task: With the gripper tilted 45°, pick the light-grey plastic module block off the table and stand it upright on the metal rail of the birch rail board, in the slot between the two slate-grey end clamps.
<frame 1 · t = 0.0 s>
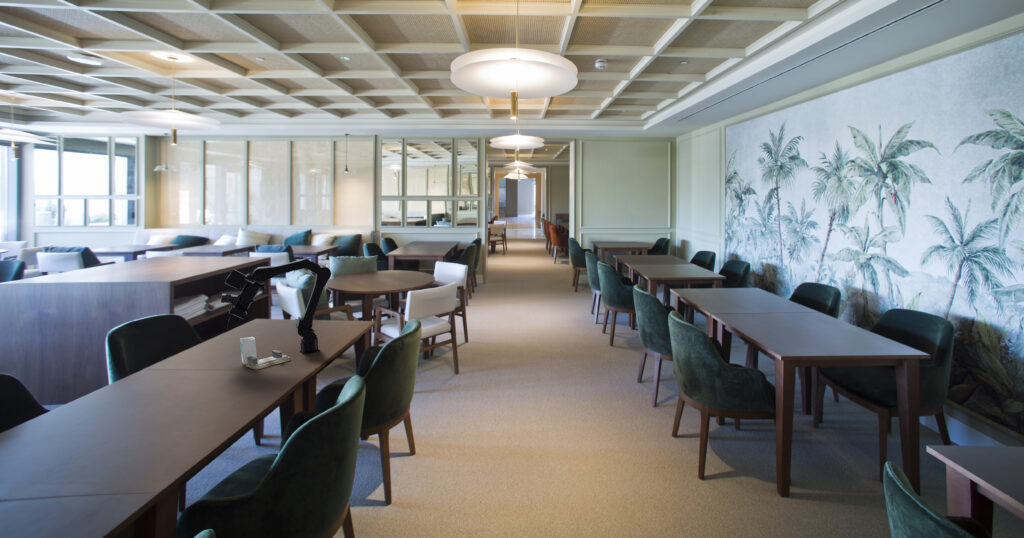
hand: (227, 327, 215), 15 cm above the table, tool tilted 35°, fingers open, 9 cm apart
module: (249, 361, 215), on the table
rail board: (268, 363, 213), on the table
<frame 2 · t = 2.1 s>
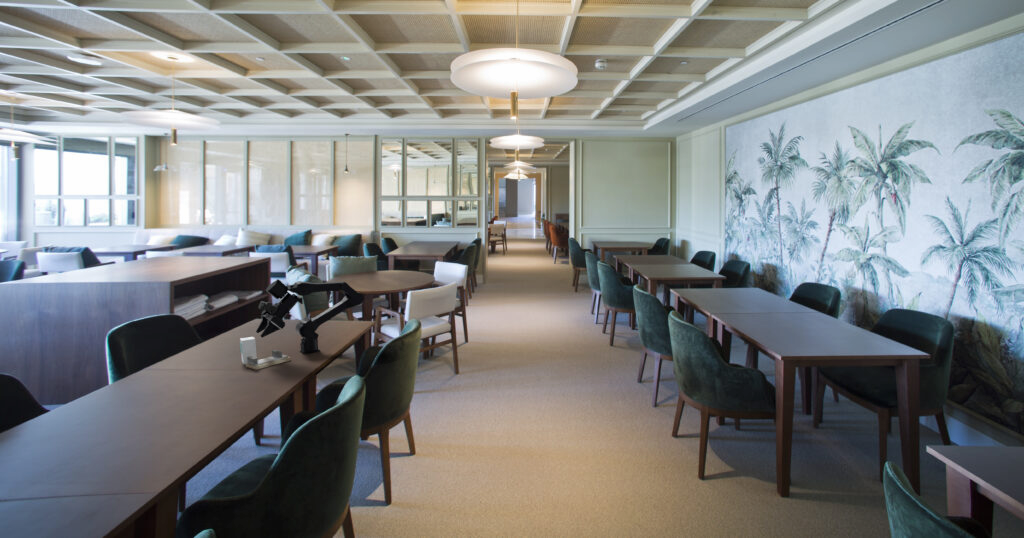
hand: (259, 334, 217), 11 cm above the table, tool tilted 45°, fingers open, 9 cm apart
nothing on the table moved.
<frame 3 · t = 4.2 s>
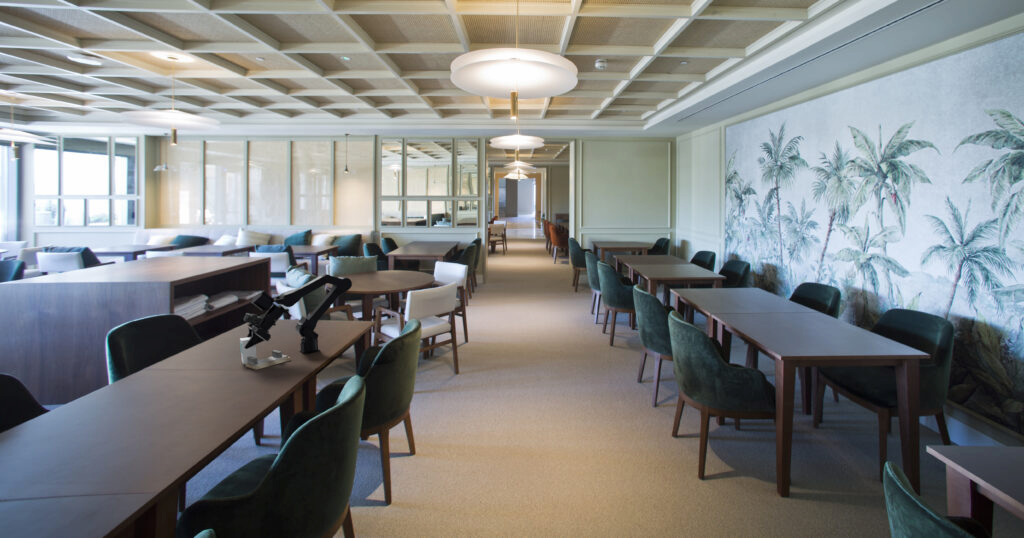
hand: (244, 347, 214), 7 cm above the table, tool tilted 45°, fingers closed on module, 4 cm apart
module: (249, 361, 215), on the table, touching gripper
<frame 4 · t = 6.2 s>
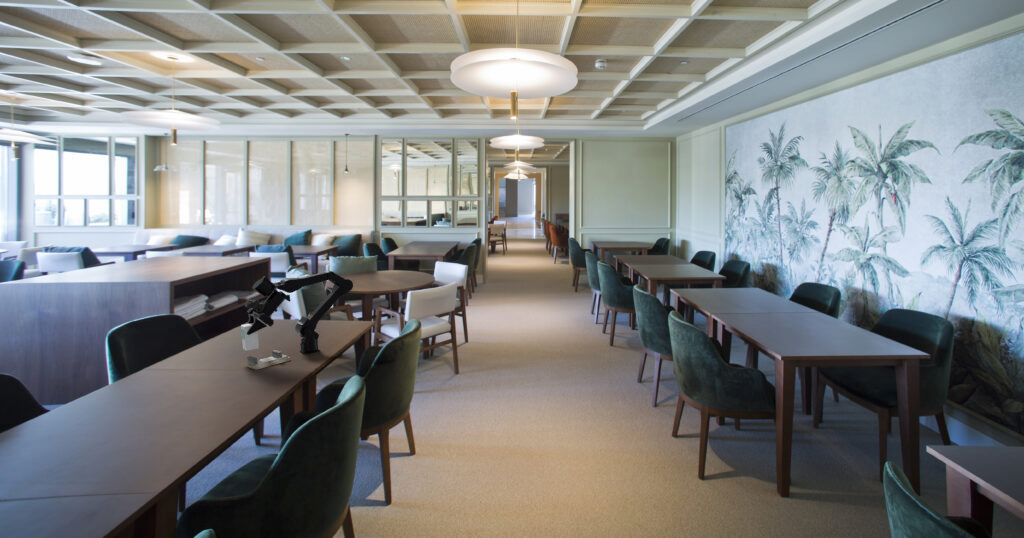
hand: (245, 333, 212), 13 cm above the table, tool tilted 45°, fingers closed on module, 4 cm apart
module: (250, 348, 214), point 6 cm above the table, touching gripper
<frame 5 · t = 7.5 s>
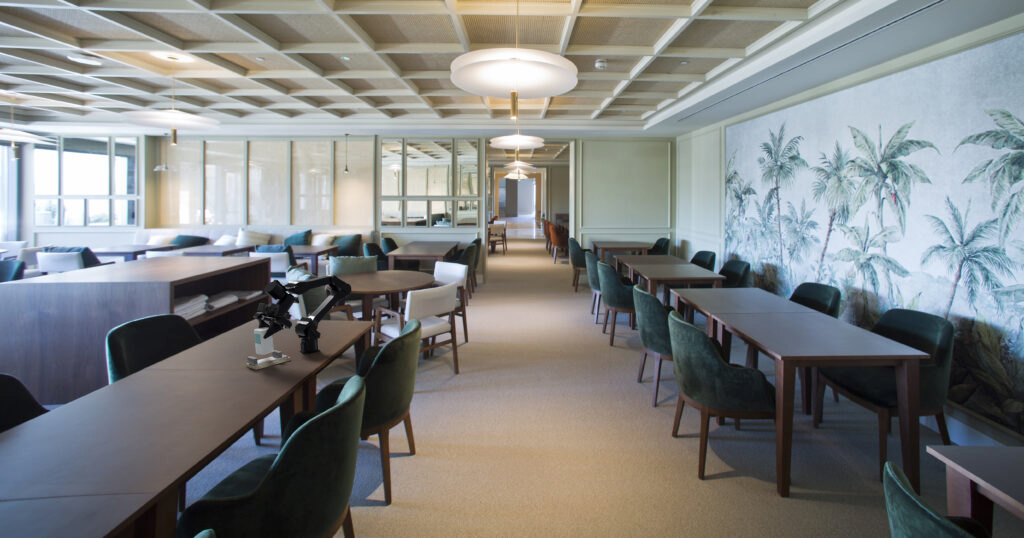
hand: (260, 337, 209), 12 cm above the table, tool tilted 45°, fingers closed on module, 4 cm apart
module: (264, 352, 211), point 5 cm above the table, touching gripper
when the fingers open (9 cm above the table, at t = 8.7 s): module drops 1 cm, resting on rail board.
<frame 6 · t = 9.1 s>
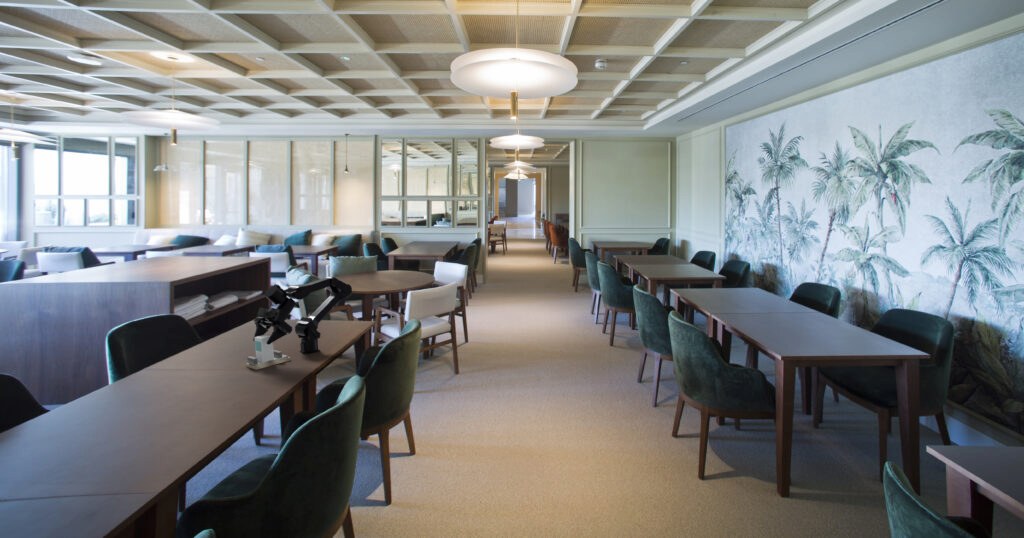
hand: (260, 342, 209), 10 cm above the table, tool tilted 45°, fingers open, 9 cm apart
module: (265, 360, 212), point 2 cm above the table, touching rail board
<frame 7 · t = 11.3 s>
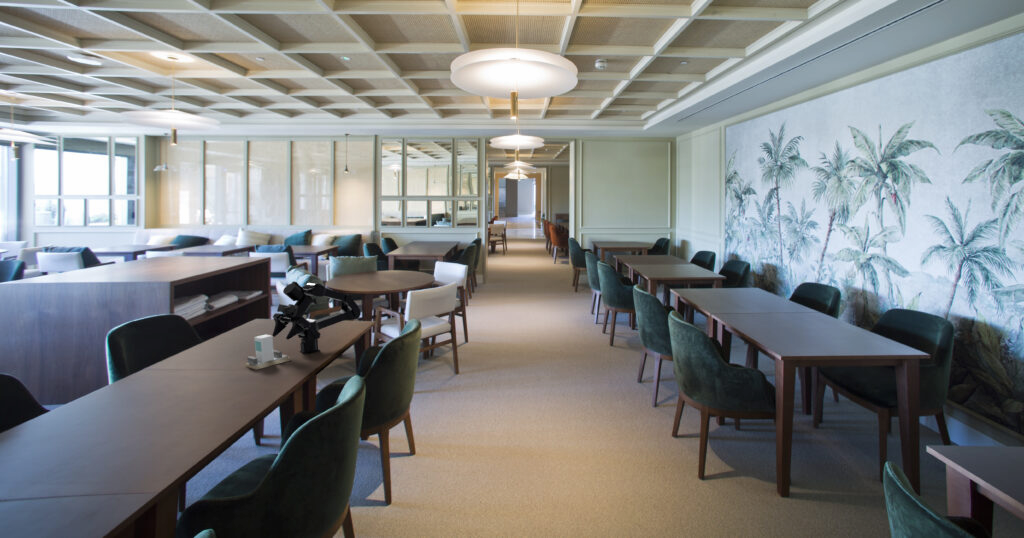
hand: (280, 337, 217), 10 cm above the table, tool tilted 45°, fingers open, 9 cm apart
nothing on the table moved.
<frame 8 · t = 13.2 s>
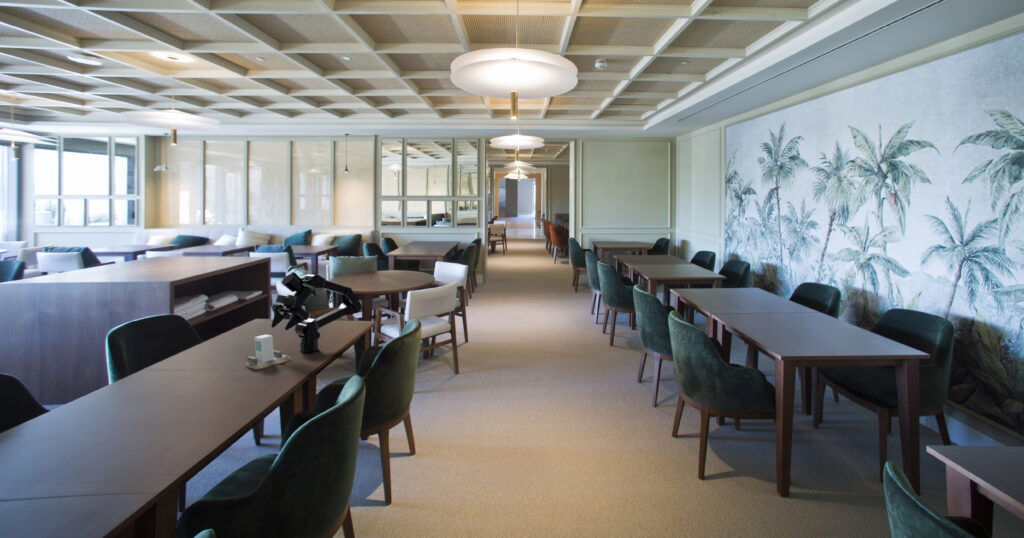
hand: (278, 328, 216), 14 cm above the table, tool tilted 45°, fingers open, 9 cm apart
nothing on the table moved.
at the end: module 0.5 cm from the target spot, point 1.8 cm above the table; module tilted 0°; the gripper is holding nothing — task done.
